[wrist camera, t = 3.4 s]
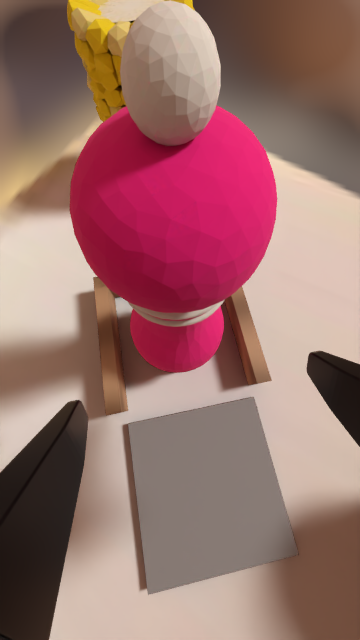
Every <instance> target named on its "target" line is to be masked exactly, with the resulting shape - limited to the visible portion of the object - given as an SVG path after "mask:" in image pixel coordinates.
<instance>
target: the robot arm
mask: <svg viewBox="0 0 360 640" xmlns="http://www.w3.org/2000/svg"><path fill="white" fill-rule="evenodd" d="M307 373H308V375H309V377H310V378H311V380H312V382H313V383H314V385H315V386H316V388H317V389H318V391H319V393H320V394H321V396H322V397H323V399H324V400H325V402H326V404H327V405H328V406H329V408H330V409H331V411H332V412H333V413H334V415H335V416H336V417H337V418H338V420H339V421H340V422H341V424H342V425H343V426H344V427H345V429H346V430H347V431H348V433H349V434H350V435H351V436H352V438H353V439H354V440H355V442H356V443H357V444H358V445H359V447H360V364H357V363H354V362H351V361H349V360H346V359H343V358H340V357H337V356H334V355H332V354H329V353H326V352H323V351H316V352H311V353H310V354H309V356H308V363H307ZM87 428H88V416H87V413H86V411H85V409H84V406H83V404H82V402H81V401H80V400H75V401H70V402H68V403H67V404H66V405H65V406H64V407H63V408H62V409H61V410H60V411H59V412H58V413H57V414H56V415H55V416H54V417H53V418H52V419H51V420H50V421H49V422H48V423H47V424H46V426H45V427H44V428H43V429H42V430H41V431H40V432H39V433H38V434H37V435H36V436H35V437H34V438H33V439H32V440H31V441H30V442H29V443H28V444H27V445H26V446H25V447H24V448H23V450H22V451H21V452H20V453H19V454H18V455H17V456H16V457H15V458H14V459H13V460H12V461H11V462H10V463H9V464H8V465H7V466H6V467H5V468H4V469H3V470H2V471H1V472H0V640H49V637H50V632H51V627H52V622H53V617H54V612H55V607H56V602H57V597H58V592H59V587H60V582H61V577H62V572H63V567H64V562H65V557H66V552H67V547H68V542H69V537H70V532H71V527H72V522H73V517H74V512H75V507H76V502H77V497H78V492H79V487H80V482H81V477H82V472H83V466H84V460H85V450H86V439H87Z"/></svg>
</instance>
